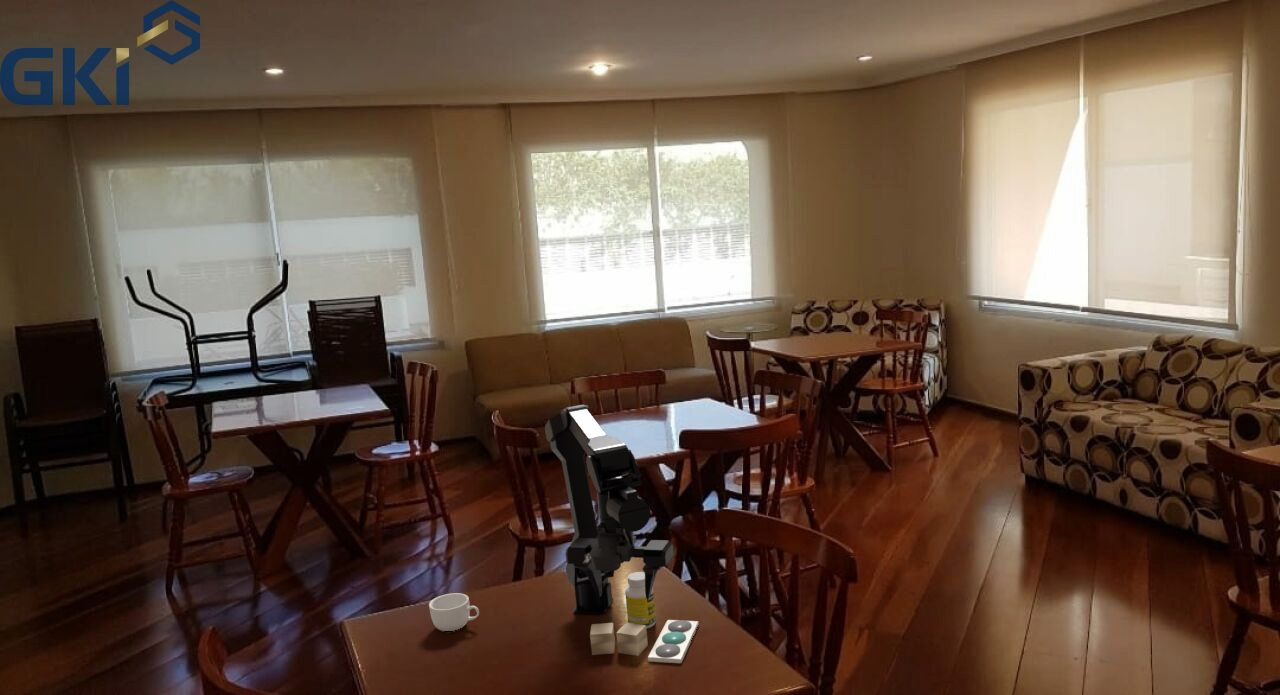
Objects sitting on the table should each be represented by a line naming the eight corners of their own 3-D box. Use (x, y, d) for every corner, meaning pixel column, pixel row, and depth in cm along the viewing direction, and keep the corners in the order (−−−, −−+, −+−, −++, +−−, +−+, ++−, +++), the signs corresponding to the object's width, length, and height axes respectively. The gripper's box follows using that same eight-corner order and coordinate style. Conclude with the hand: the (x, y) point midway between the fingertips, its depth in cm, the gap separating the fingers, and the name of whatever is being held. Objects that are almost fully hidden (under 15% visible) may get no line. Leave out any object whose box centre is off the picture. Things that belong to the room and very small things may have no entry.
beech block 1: (592, 655, 164) (590, 634, 163) (593, 644, 168) (591, 624, 167) (614, 653, 164) (612, 633, 163) (615, 642, 168) (613, 622, 167)
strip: (648, 661, 160) (647, 656, 159) (668, 623, 173) (667, 618, 173) (681, 663, 158) (680, 658, 158) (698, 625, 171) (698, 620, 171)
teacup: (425, 635, 177) (422, 610, 176) (442, 617, 185) (438, 592, 184) (473, 636, 175) (469, 610, 174) (488, 618, 182) (484, 593, 181)
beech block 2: (618, 653, 164) (616, 632, 163) (628, 642, 167) (626, 622, 167) (638, 656, 162) (636, 635, 161) (647, 645, 165) (645, 625, 165)
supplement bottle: (653, 630, 171) (648, 582, 169) (625, 630, 172) (620, 582, 170) (658, 617, 176) (654, 569, 174) (631, 617, 177) (626, 570, 175)
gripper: (549, 529, 156) (558, 614, 158) (652, 532, 150) (661, 620, 152) (573, 507, 166) (581, 587, 169) (670, 509, 160) (678, 591, 163)
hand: (623, 596), depth 163 cm, fingers open, 9 cm apart
